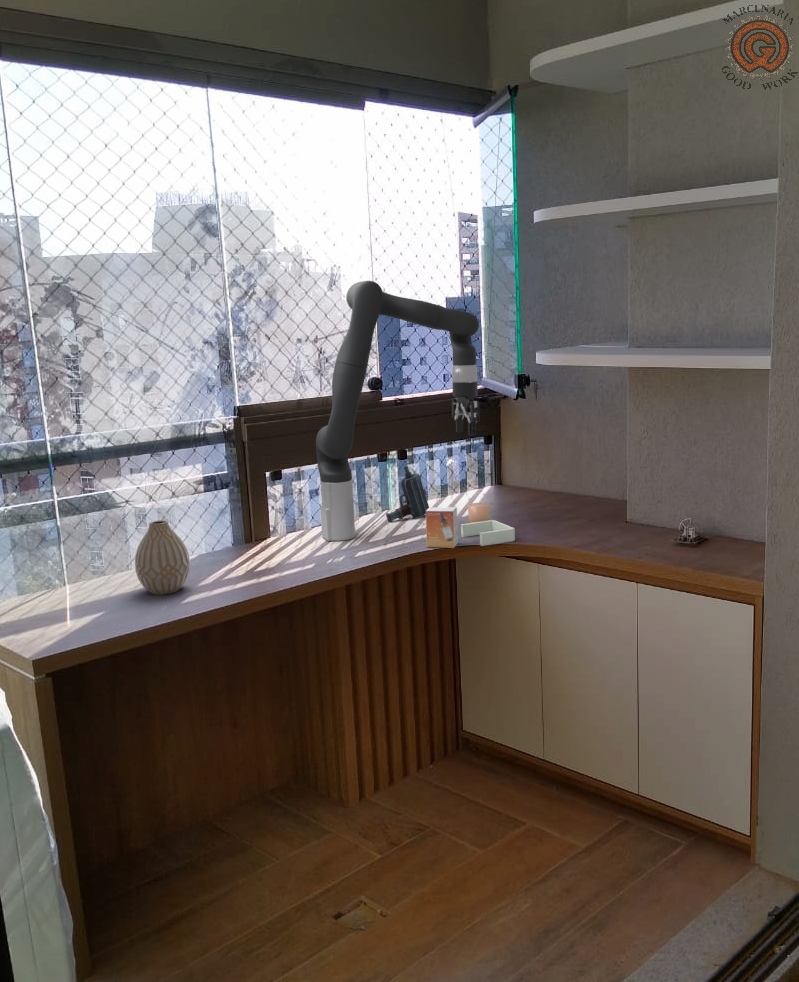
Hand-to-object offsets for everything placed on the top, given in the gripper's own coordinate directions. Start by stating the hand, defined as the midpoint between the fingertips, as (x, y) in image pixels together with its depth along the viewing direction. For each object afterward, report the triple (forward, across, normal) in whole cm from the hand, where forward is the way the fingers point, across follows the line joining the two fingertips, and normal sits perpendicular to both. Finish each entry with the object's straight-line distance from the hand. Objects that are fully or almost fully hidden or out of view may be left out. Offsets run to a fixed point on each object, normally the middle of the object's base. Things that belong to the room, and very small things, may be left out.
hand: (466, 433), depth 288 cm
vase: (+29, +25, -96) cm, 103 cm away
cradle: (+27, +22, -5) cm, 36 cm away
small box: (+28, +22, -19) cm, 40 cm away
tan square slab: (+27, +10, -1) cm, 29 cm away
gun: (+28, -15, -14) cm, 34 cm away
